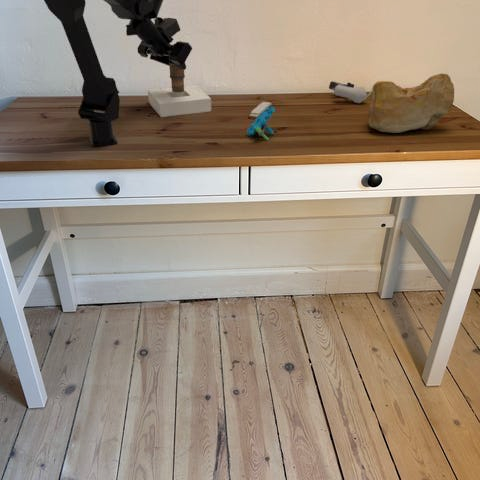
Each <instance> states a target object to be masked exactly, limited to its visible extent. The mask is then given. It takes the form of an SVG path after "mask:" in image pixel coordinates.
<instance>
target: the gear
mask: <svg viewBox="0 0 480 480" xmlns="http://www.w3.org/2000/svg"><path fill="white" fill-rule="evenodd" d="M275 111H276V110H275V107H273V106H272V107H271V108H267V110H266V111H264V112H262V113H261V115H260V117H257V118H256V119H254V122H252V123H251V124H250V125H249V128H248V129H247V130H246V135H248V136H253V135H254V134H255V132H257V134H258V136H260V137H261V136H262V137H263V138H264V139H265V140H266V141H269V140H270V139H269V137H268V136H267V135H266V134H265V133H264V132H265V130H266V131H267V132H268V133H269V134H270V135H271V136H272V135H274V133H275V132H274V131H273V130H272V129H271V127H270V126H268V123H267V120H270V119H271V118H272V116H273V113H275Z"/></svg>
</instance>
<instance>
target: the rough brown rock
mask: <svg viewBox="0 0 480 480" xmlns="http://www.w3.org/2000/svg"><path fill="white" fill-rule="evenodd" d="M372 87H373V90H372V92H371V98H370V101H369V106H368V119H367V120H368V121H367V122H368V126H369V127H370V128H372V129H374V130H376V131H379V132H381V133H391V134H396V133H397V134H398V133H403V132H404V133H405V132H407V131H411V130H419V129H421V130H430V129H432V128H433V126H434V125H435V124H436V123H438V121H439V119H440V118H441V117H444V116H445V115H446V114H447V113H449V112H451V111H452V109H453V106H454V100H455V86H454V83H453V82H452V80H451V77H450V76H449V74H448V73H438V74H434V75H431V76H430V77H429V78H427V79H426V80H424V82H422V83H420V84H419V85H417V86H413V87H405V88H402V87H401V86H399V85H397V84H396V83H395V82H393V81H390V80H389V81H386V80H385V81H384V80H381V81H380V80H379V81H376V82H375V83H374V84H373V86H372Z"/></svg>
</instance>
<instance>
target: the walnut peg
mask: <svg viewBox="0 0 480 480" xmlns="http://www.w3.org/2000/svg"><path fill="white" fill-rule="evenodd" d="M169 61H170V54H169ZM185 75H186V74H185V70H183V69H181V68H178V67H176V66H174V65H172V64H169V78H170V80H171V88H172V91H173V92H183V91H184V86H185V82H184V79H185V78H186V76H185Z"/></svg>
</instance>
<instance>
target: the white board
mask: <svg viewBox="0 0 480 480" xmlns="http://www.w3.org/2000/svg"><path fill="white" fill-rule="evenodd" d="M147 96H148V97H147V98H148V103H149V104H150V106H151V107H152V108H153V109H154V111H155V112H156V113H157V114H158V115H159V117H160V118H165V117H166V118H167V117H174V116H181V115H182V116H183V115H191V114H200V113H207V112H208V113H209V112H212V98H211V97H210V96H209V95H208V94H207V93H205V91H202V90H201V89H200V88H199V87H198V86H197V85H196V84H195V85H186V86H185V85H184V91H183V92H173V91H172V87H166V88H155V89H147Z"/></svg>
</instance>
